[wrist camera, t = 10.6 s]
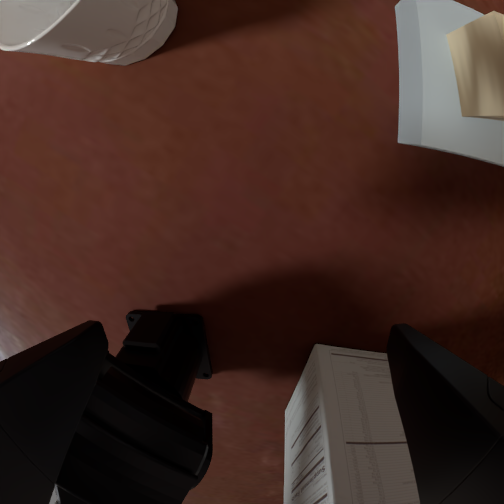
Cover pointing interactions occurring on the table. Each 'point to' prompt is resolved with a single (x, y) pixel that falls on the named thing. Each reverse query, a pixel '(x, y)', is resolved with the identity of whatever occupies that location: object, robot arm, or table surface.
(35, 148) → the table surface
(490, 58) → the birch cube
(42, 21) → the white cup
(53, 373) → the robot arm
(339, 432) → the supplement box
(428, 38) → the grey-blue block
